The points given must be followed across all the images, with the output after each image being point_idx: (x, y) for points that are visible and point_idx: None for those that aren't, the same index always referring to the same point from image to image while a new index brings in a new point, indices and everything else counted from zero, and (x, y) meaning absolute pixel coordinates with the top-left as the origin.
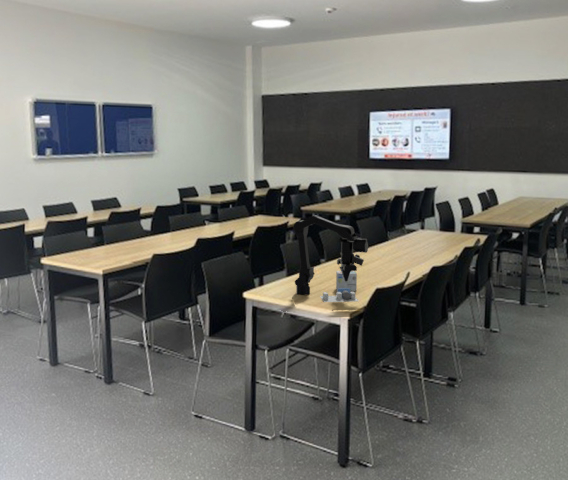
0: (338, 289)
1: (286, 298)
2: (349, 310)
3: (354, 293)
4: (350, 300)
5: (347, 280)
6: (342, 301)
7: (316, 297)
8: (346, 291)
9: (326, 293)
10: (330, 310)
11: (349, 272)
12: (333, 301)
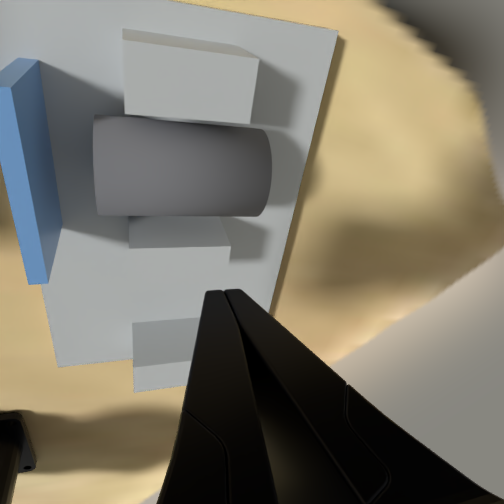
0: (49, 269)
1: (80, 491)
2: (472, 202)
3: (256, 76)
4: (277, 130)
5: (250, 299)
6: (289, 219)
7: (40, 370)
8: (168, 183)
9: (189, 369)
10: (406, 308)
11: (450, 486)
12: (266, 286)
